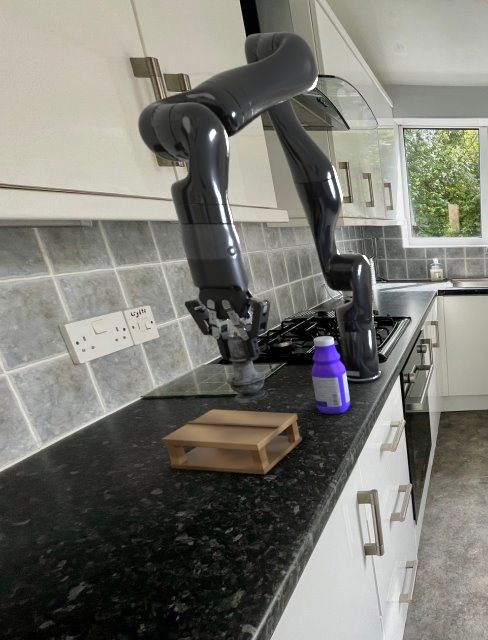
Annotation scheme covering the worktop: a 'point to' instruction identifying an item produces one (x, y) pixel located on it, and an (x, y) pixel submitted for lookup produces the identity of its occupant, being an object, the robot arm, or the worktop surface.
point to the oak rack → (233, 441)
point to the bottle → (329, 378)
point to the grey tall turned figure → (244, 374)
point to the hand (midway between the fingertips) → (241, 358)
